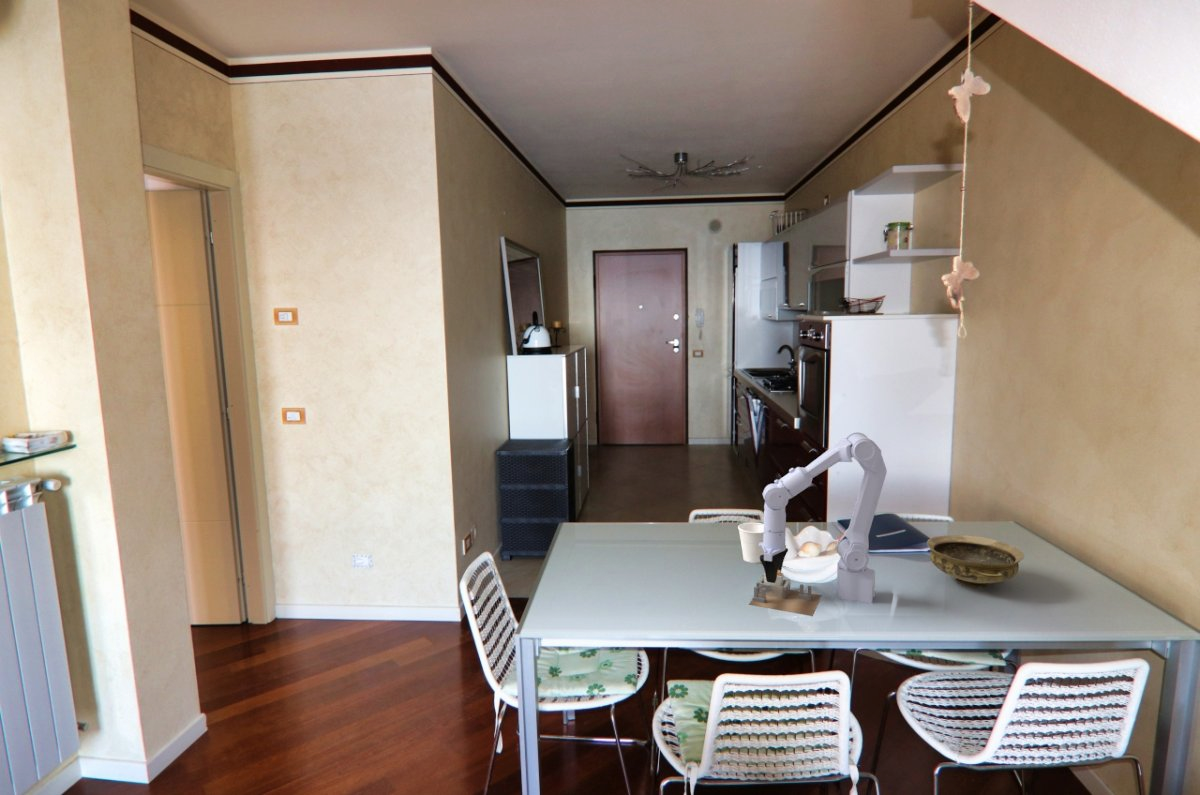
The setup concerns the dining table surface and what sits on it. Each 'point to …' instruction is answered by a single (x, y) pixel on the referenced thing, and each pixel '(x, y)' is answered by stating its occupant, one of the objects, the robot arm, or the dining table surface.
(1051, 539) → the dining table surface
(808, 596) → the clip
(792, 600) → the board
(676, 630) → the dining table surface
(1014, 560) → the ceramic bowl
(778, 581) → the connector
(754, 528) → the cup
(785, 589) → the end holder
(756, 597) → the clip
